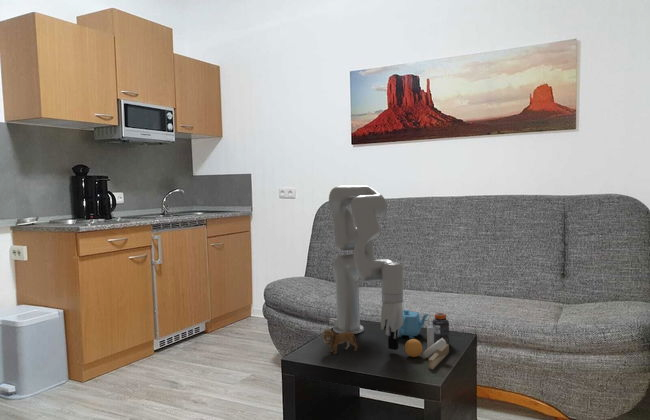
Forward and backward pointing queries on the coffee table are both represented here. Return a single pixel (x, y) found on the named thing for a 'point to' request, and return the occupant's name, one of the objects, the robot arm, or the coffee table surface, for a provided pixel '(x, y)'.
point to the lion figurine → (338, 339)
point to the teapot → (411, 324)
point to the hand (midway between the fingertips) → (393, 348)
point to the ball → (413, 347)
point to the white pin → (434, 348)
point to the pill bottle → (441, 327)
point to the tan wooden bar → (438, 356)
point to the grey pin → (430, 336)
